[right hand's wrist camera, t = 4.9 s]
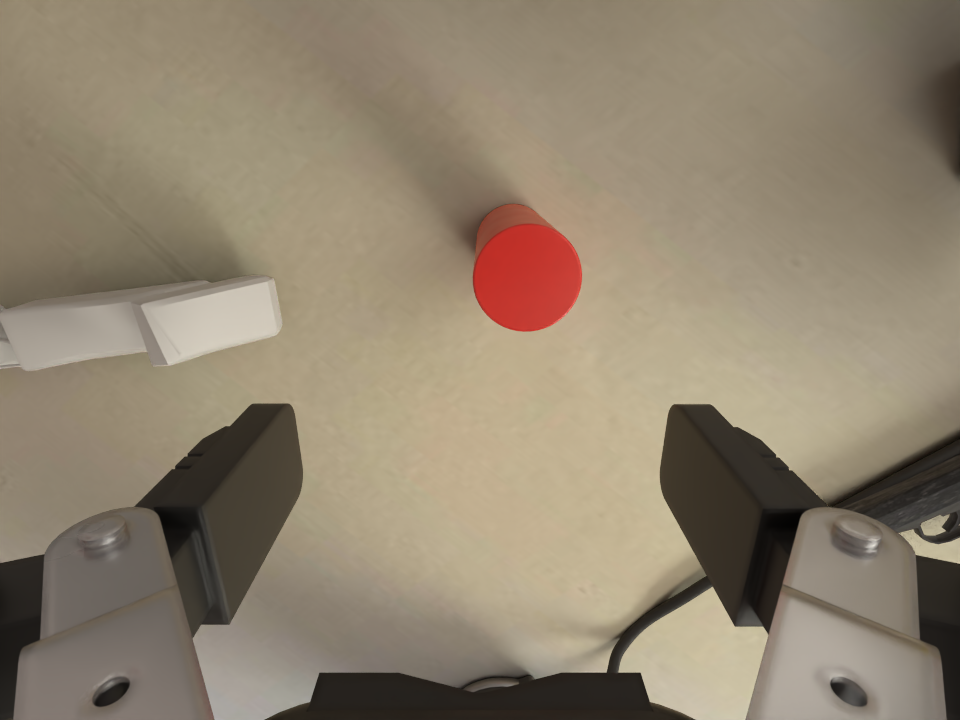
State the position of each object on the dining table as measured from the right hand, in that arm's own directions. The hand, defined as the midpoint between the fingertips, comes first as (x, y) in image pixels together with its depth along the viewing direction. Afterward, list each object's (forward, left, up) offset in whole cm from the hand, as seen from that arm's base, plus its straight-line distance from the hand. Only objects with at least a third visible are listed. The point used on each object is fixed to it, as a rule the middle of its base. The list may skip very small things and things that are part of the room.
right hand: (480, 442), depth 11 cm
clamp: (+20, -9, -21) cm, 31 cm away
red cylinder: (-2, 0, -21) cm, 21 cm away
